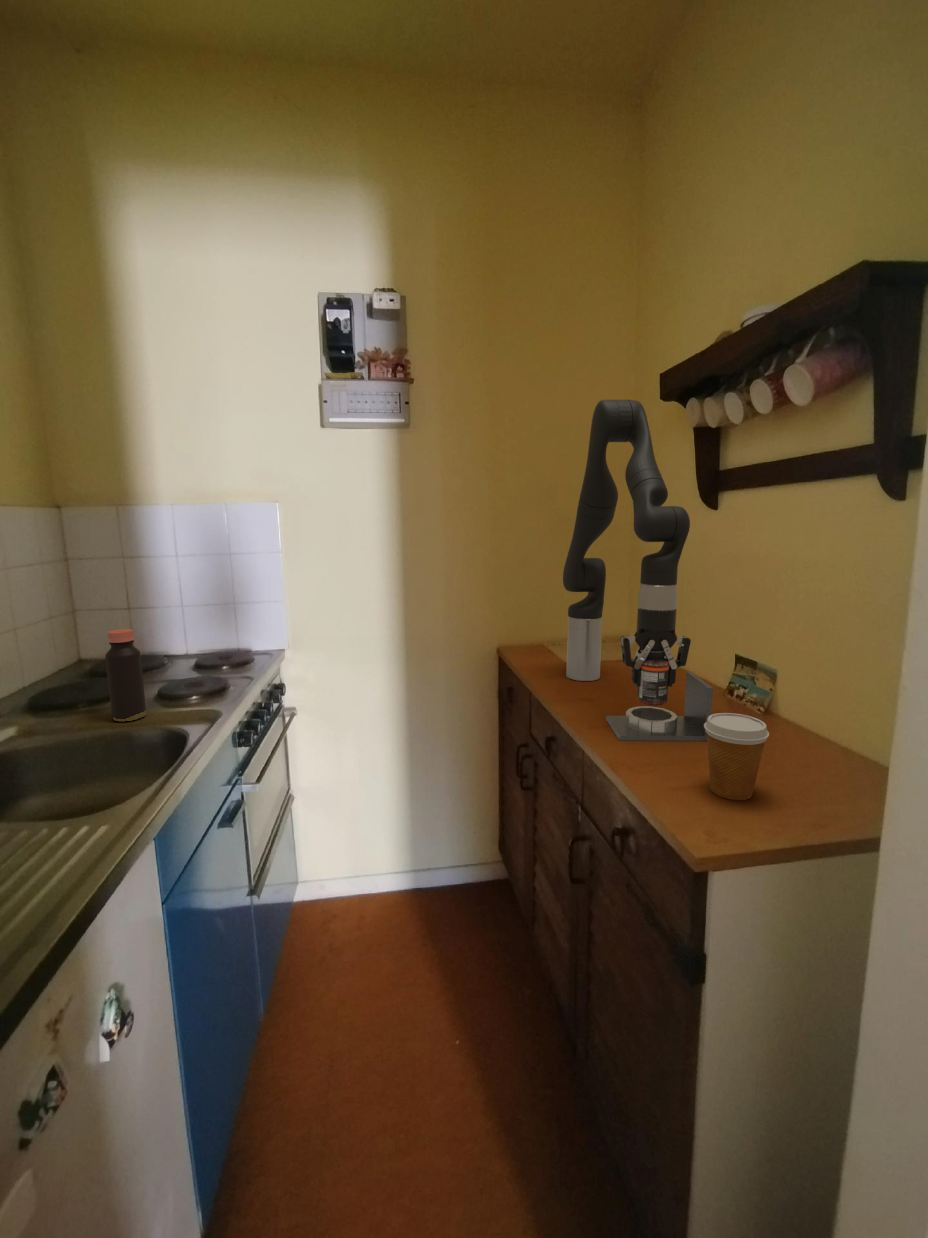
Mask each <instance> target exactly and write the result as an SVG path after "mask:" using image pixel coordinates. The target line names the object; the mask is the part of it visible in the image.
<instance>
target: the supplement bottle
mask: <svg viewBox="0 0 928 1238" xmlns="http://www.w3.org/2000/svg"><path fill="white" fill-rule="evenodd" d="M664 656H665V652H664V651H650V652H649V654H648V656H647V658H646V659H645V660H644V661H643V663H642V665H641V667H640V669H641V680H640V687H638V689H637V700H638V702H639V703H641V704H644V705H646V706H651V707H656V706H663V705H665V704H667V702H668V696H669V695H668V693H669V691H668V690H669V687H668V676H669V662H668V661H667V660H666V659H665V657H664Z"/></svg>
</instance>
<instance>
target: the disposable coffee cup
mask: <svg viewBox="0 0 928 1238" xmlns="http://www.w3.org/2000/svg"><path fill="white" fill-rule="evenodd" d="M704 728H705V731H706V733H707V741H706V743H707V745H706V746H707V758H708V771H709V772H708V774H709V789H710V791H711V792H712V793H713V794H715V796H718V797H721V798H723V799H727V800H730V801H731V800H732V801H745V800H748V799H751V798H752V797H753V793H754V788H755V785H756V781H757V776H758V772H759V768H760V765H761V764H760V763H761V759H762V755H763V751H764V747H765V742H767V740H768V738H769V737H770V732H769V731H768V728H767V724H766V723H765V722H764V721H763V720H761V719H759V718H756V717H753V716H750V715H747V714H740V713H731V712H719V713H713V714H711V715H710V716H709V717H708V719H707V722H706V723H705V724H704Z"/></svg>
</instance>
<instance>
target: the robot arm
mask: <svg viewBox="0 0 928 1238" xmlns="http://www.w3.org/2000/svg"><path fill="white" fill-rule="evenodd" d="M592 413H593V414H592V419H591V426H590V431H589V432H590V433H589V434H590V435H589V441H588V449H587V451H588V452H587V458H586V459H587V460H586V466H585V471H584V477H583V480H582V485H581V490H580V494H579V498H578V505H577V510H576V515H575V523H574V527H573V533H572V537H571V542H570V544H569V549H568V552H567V556H566V559H565V562H564V567H563V573H562V584H563V587H564V589H565V590H566V591H567V592H572V593H587V594H586V596H585V597H584V598H582V600H580V601H577V602H575V603H572V604H570V605H569V606H568V609H567V634H566V635H567V639H566V641H567V644H566V671H565V673H566V674H565V675H566V676H565V677H566V678H568V679H570V680H574V681H577V682H578V681H579V682H593V681H597V680H599V679H600V677H601V658H602V657H601V655H602V632H603V631H602V630H603V629H602V628H603V627H602V625H603V610H604V604H605V603H604V602H605V591H606V590H605V589H606V581H607V580H606V579H607V568H606V564H605V562H604V559H602V558H600V557H585V556H586V554H587V552H588V550H589V549H590V547H591V546H593V543H595V541H596V540H598V538H600V537H601V536H602V535H603V533H604V532H605V531H606V530H607V528H609V526H610V525H611V524H612V522H613V521H614V518H615V517H614V516H615V513H616V508H617V504H618V499H619V493H618V492H619V491H618V487H617V485H616V482H615V480H614V478H613V476H612V473H611V472H610V468H609V466H608V464H607V463H608V461H607V448H608V444H609V443H630V444H631V446H632V448H633V451H632V453H631V456H630V458H629V460H628V462H627V465H626V467H625V472H624V473H625V475H624V476H625V477H624V478H625V482H626V486H627V489H628V491H629V495H630V497H631V499H632V504H633V530H634V533H635V535H636V537H637V538H638V539H639V540H641V541H643V542H646V543H663V544H662V546H661V548H660V550H659V551H657V552H653V553H650V554H647V555H645V556H643V557H642V559H641V563H640V583H639V591H638V596H637V597H638V599H637V614H636V615H637V619H636V631H635V633H634V635H631V636H629V635H628V636H626V635H622V636H621V637H620V644H621V645H620V646H621V647H620V648H621V655H622V663H623V664H624V665H625V666H626V667H630V668H631V680H630V681H631V682H632V683H633V684H634V686H635V687H640V680H641V669H640V667H641V665H642V663H643V661H644V660H645V659H646V658H647V656H648V654H649V652H650V651H664V652H665V656H664V657H665V659H666V660H667V661H668V662H669V676H668V688H669V687H671V688H672V687H673V685H674V684H675V683H676V678H677V676H676V674H677V669H678V668H680V667H685V666H686V665H687V661H688V656H689V651H690V646H691V642H692V640H691V638H689V637H687V636H686V635H682V636H681V635H679V636H678V635H677V634H676V627H677V626H676V622H677V610H678V588H677V587H678V583H677V582H678V567H679V562H680V559H681V556H682V553H683V549H684V547H685V544H686V541H687V539H688V535H689V532H690V528H691V520H690V516H689V513H688V511H687V510H686V509H685V508H684V507H681V506H680V505H679V506H676V505H675V506H674V505H671V506H670V505H669V506H668V505H667V506H666V505H664V504H665V502H666V501H667V499H668V496H669V492H668V488H667V486H666V484H665V480H664V478H663V475H662V473H661V471H660V469H659V467H658V463H657V460H656V456H655V452H654V447H653V442H652V441H653V440H652V436H651V431H650V428H649V427H650V425H649V422H648V417H647V413H646V410H645V408H644V406H643V404H642V403H641V402H640V401H638V400H635V399H601V400H599V401H598V402H597V404H596V405H595V408H594V411H593V412H592ZM634 642H635V643H636V644H637V646H638V648H637V650H636V652H635V653H634V654H635V655H634V657H633V659H632V655H631V654H632V653H631V648H632V647H633V645H634ZM675 644H677V646H678V650H677V654H676V659H675V656H674V654H673V652H672V650H671V649H672V647H673V646H674V645H675Z"/></svg>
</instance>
